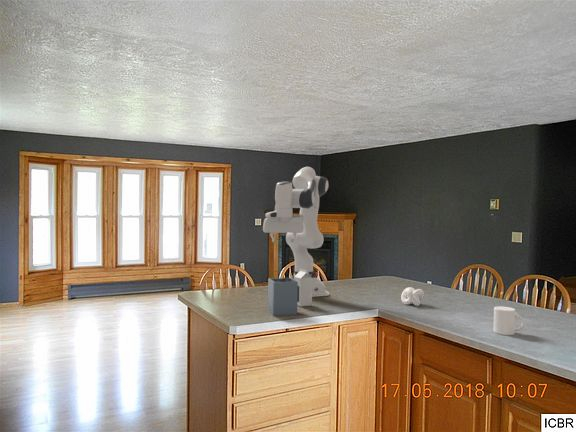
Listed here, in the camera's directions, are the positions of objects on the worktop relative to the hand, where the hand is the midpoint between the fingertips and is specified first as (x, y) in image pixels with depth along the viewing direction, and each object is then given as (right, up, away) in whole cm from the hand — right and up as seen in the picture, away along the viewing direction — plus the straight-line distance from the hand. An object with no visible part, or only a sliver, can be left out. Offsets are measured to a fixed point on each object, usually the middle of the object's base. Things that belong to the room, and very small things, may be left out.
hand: (283, 242), depth 220 cm
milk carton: (+10, -35, +18) cm, 41 cm away
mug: (+96, -37, -31) cm, 108 cm away
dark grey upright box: (+1, -35, +1) cm, 35 cm away
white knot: (+71, -36, +23) cm, 83 cm away
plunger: (0, -31, 0) cm, 31 cm away
